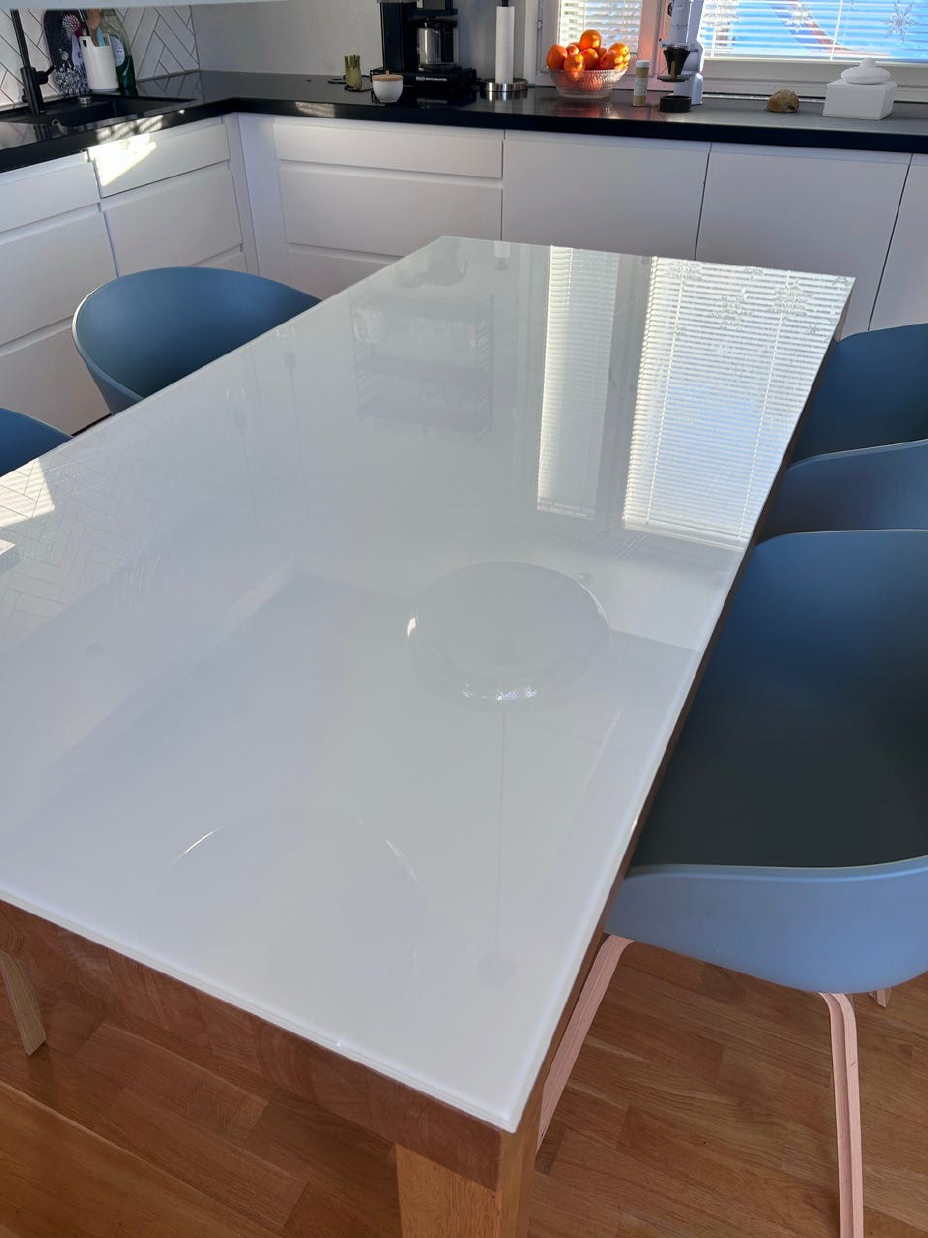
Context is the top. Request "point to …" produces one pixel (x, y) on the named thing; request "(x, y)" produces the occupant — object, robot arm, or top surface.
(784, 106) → the bread roll
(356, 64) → the fennel bulb
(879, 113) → the white lidded box
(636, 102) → the sprinkles bottle
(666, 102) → the pan
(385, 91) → the sugar bowl
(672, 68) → the pan lid
